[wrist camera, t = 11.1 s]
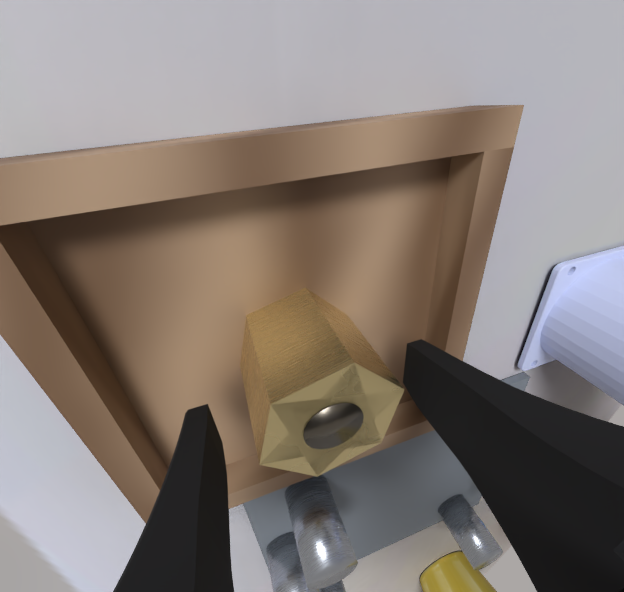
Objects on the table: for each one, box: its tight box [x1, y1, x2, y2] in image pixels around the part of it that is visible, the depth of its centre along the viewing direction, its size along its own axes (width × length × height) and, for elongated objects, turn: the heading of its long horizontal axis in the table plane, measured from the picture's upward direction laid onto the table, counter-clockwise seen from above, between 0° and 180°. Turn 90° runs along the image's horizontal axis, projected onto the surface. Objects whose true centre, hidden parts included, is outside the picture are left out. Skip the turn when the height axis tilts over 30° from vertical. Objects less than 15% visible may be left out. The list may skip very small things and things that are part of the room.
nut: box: [240, 288, 405, 477], centre depth 12 cm, size 4×5×4 cm
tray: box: [0, 105, 524, 523], centre depth 13 cm, size 16×16×2 cm
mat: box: [243, 372, 530, 572], centre depth 25 cm, size 21×18×1 cm
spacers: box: [266, 475, 503, 592], centre depth 23 cm, size 20×15×4 cm
